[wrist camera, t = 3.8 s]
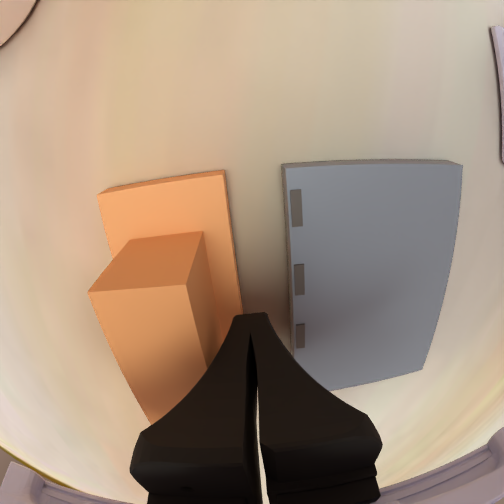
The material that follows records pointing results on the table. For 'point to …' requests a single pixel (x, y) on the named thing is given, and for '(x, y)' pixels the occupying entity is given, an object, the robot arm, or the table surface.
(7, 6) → the can
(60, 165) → the table surface
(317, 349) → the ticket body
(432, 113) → the table surface
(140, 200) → the stub
